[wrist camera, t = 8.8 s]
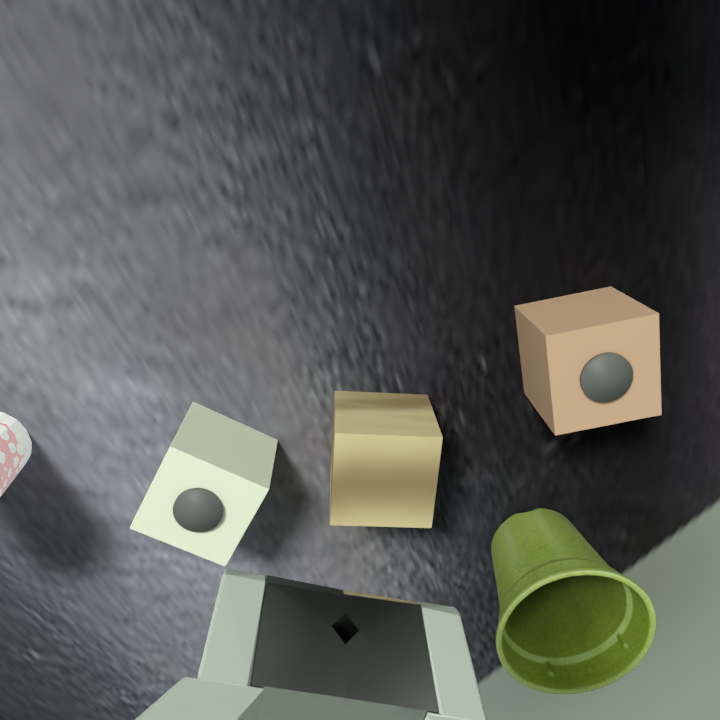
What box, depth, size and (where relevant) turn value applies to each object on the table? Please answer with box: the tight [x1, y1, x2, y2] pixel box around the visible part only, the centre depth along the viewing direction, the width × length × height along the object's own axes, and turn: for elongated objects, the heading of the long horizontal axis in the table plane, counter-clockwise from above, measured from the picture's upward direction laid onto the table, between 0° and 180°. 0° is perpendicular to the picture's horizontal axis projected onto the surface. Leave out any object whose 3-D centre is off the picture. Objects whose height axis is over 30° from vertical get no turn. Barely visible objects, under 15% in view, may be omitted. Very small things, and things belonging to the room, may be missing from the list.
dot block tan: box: [515, 287, 662, 436], centre depth 36 cm, size 6×6×6 cm
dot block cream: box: [130, 402, 278, 566], centre depth 38 cm, size 6×6×6 cm
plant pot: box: [491, 508, 656, 694], centre depth 40 cm, size 9×9×9 cm
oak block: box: [330, 391, 443, 528], centre depth 38 cm, size 6×6×6 cm
